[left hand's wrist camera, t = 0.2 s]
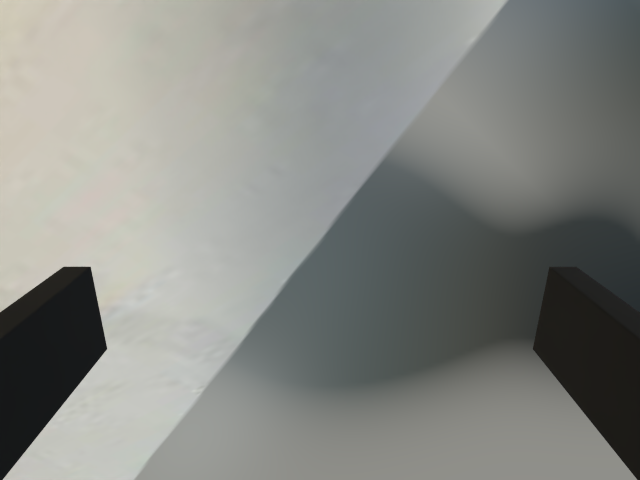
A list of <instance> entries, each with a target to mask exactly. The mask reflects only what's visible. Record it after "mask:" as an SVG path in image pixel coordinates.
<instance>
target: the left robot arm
mask: <svg viewBox="0 0 640 480" xmlns="http://www.w3.org/2000/svg"><path fill="white" fill-rule="evenodd" d="M106 350H107V346H106V341H105V336H104V331H103V326H102V321H101V316H100V311H99V306H98V301H97V296H96V292H95V287H94V282H93V277H92V272H91V267H63V268H61V269H60V270H59V271H57V272H56V273H54V274H53V275H52V276H50V277H49V278H48V279H46V280H45V281H43V282H42V283H41V284H39V285H38V286H36V287H35V288H34V289H32V290H31V291H29V292H28V293H27V294H25V295H24V296H22V297H21V298H20V299H18V300H17V301H16V302H14V303H13V304H11V305H10V306H9V307H7V308H6V309H4V310H3V311H2V312H0V480H3V478H4V477H5V476H6V475H7V473H8V472H9V471H10V470H11V468H12V467H13V466H14V465H15V463H16V462H17V461H18V460H19V458H20V457H21V456H22V455H23V453H24V452H25V451H26V450H27V448H28V447H29V446H30V445H31V443H32V442H33V441H34V440H35V438H36V437H37V436H38V435H39V433H40V432H41V431H42V430H43V428H44V427H45V426H46V425H47V423H48V422H49V421H50V420H51V418H52V417H53V416H54V415H55V413H56V412H57V411H58V410H59V408H60V407H61V406H62V405H63V403H64V402H65V401H66V400H67V398H68V397H69V396H70V395H71V393H72V392H73V391H74V390H75V388H76V387H77V386H78V385H79V383H80V382H81V381H82V380H83V378H84V377H85V376H86V375H87V373H88V372H89V371H90V370H91V368H92V367H93V366H94V365H95V363H96V362H97V361H98V360H99V358H100V357H101V356H102V355H103V353H104V352H105V351H106ZM533 350H534V351H535V352H536V353H537V355H538V356H539V357H540V358H541V360H542V361H543V362H544V363H545V365H546V366H547V367H548V368H549V370H550V371H551V372H552V373H553V375H554V376H555V377H556V378H557V380H558V381H559V382H560V383H561V385H562V386H563V387H564V388H565V390H566V391H567V392H568V393H569V395H570V396H571V397H572V398H573V400H574V401H575V402H576V403H577V405H578V406H579V407H580V408H581V410H582V411H583V412H584V413H585V415H586V416H587V417H588V418H589V420H590V421H591V422H592V423H593V425H594V426H595V427H596V428H597V430H598V431H599V432H600V433H601V435H602V436H603V437H604V438H605V440H606V441H607V442H608V443H609V445H610V446H611V447H612V448H613V450H614V451H615V452H616V453H617V455H618V456H619V457H620V458H621V460H622V461H623V462H624V463H625V465H626V466H627V467H628V468H629V470H630V471H631V472H632V473H633V475H634V476H635V477H636V478H637V480H640V312H638V311H637V310H636V309H634V308H633V307H631V306H630V305H629V304H627V303H626V302H624V301H623V300H622V299H620V298H619V297H617V296H616V295H615V294H613V293H612V292H611V291H609V290H608V289H606V288H605V287H604V286H602V285H601V284H599V283H598V282H597V281H595V280H594V279H592V278H591V277H590V276H588V275H587V274H585V273H584V272H583V271H581V270H580V269H579V268H577V267H549V272H548V277H547V282H546V287H545V292H544V296H543V302H542V306H541V311H540V316H539V321H538V326H537V331H536V336H535V341H534V346H533Z"/></svg>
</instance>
